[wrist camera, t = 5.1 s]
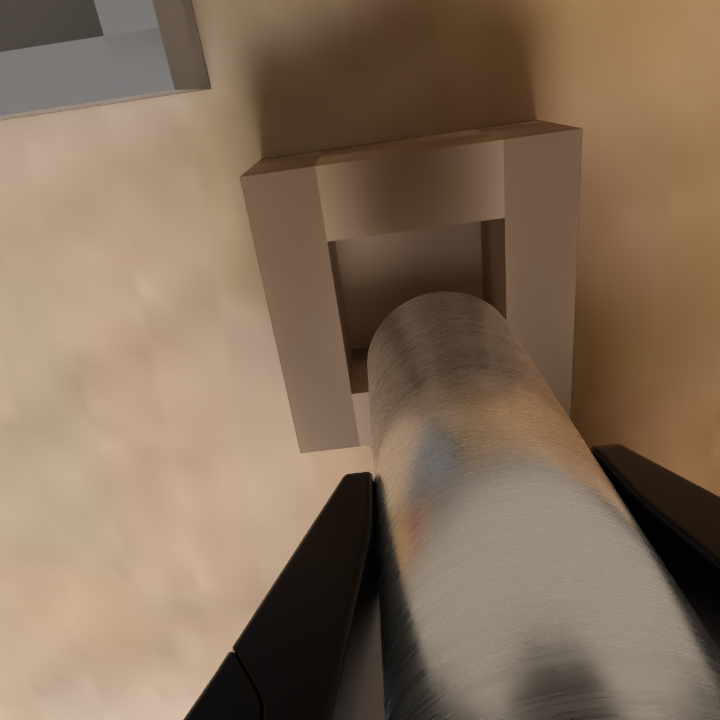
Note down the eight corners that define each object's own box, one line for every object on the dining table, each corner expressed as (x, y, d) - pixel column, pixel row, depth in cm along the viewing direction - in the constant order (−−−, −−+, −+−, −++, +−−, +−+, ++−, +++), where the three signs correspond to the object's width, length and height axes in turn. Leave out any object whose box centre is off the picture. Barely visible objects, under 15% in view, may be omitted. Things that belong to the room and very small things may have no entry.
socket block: (308, 394, 20) (300, 453, 17) (261, 159, 16) (240, 176, 13) (534, 367, 19) (570, 421, 16) (536, 119, 16) (582, 128, 13)
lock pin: (376, 432, 13) (416, 1029, 5) (357, 302, 11) (370, 836, 3) (516, 415, 13) (806, 1004, 5) (515, 281, 11) (935, 789, 3)
